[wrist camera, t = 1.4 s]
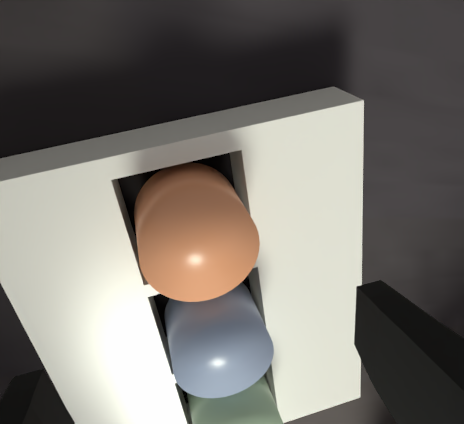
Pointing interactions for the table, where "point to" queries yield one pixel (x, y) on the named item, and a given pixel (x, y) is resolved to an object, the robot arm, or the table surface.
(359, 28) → the table surface
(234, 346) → the slate button
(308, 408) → the panel
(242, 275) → the terracotta button
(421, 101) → the table surface
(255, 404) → the sage button
